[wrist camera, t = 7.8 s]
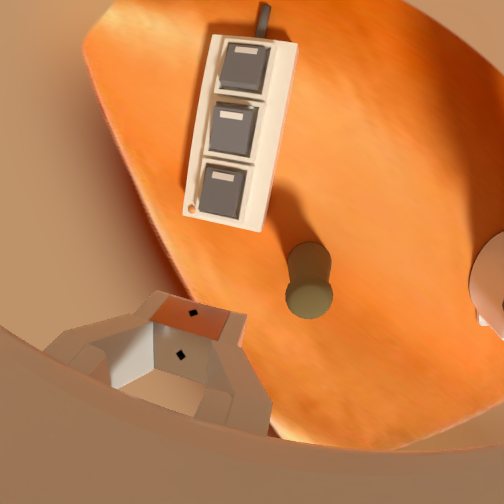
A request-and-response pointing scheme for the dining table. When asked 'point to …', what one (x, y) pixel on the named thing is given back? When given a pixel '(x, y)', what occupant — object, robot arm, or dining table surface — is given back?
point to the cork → (309, 281)
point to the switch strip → (262, 135)
